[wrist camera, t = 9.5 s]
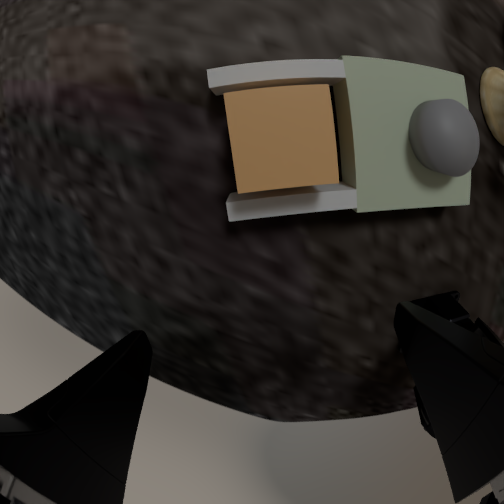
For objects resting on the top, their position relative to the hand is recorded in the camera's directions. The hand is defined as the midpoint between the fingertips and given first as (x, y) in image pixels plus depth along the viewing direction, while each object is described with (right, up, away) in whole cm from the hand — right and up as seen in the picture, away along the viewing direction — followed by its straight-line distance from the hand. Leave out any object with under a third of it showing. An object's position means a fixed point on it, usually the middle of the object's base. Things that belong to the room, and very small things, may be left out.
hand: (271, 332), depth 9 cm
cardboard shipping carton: (+1, +10, +9) cm, 14 cm away
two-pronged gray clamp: (+6, +11, +8) cm, 15 cm away
